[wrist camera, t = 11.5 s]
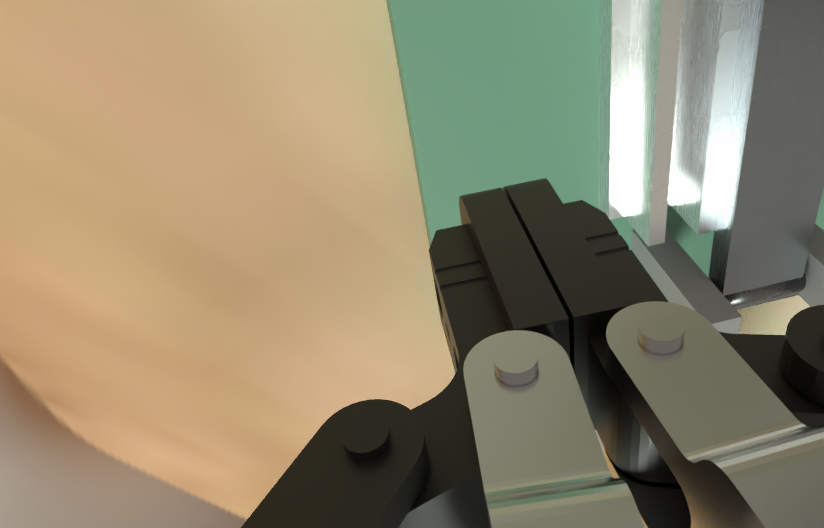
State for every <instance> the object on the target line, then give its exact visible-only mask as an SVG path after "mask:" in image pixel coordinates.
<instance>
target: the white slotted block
mask: <svg viewBox="0 0 824 528" xmlns="http://www.w3.org/2000/svg"><path fill="white" fill-rule="evenodd" d="M742 8H743V0H599V171H598V207H599V208H600V209H601V211H602V212H604V213H605V214H606V215H607V216H608V218H609V219H610V220H611V219H616V218H620V217H625V218H626V219H627V221H628V222H629V223H630V224H631V226H632V227H633V228H634V229H635V231H636V232H637V233H638V234H639V236H640V237H641V238H642V239H643V241H644V242H645V243H646V244H647V246H652V245H656V244H661V243H665V231H666V218H667V207H668V206H672V207H673V209H674V210H675V211H676V212H677V213H678V214H679V215H680V216H681V217H682V218H683V219H684V220H685V222H686V223H687V224H688V225H689V226H690V227H691V228H692V229H693V230H694V231H695V232H696V234H697V235H699V234H704V233H708V232H712V231H714V229H715V221H716V214H717V206H718V198H719V190H720V182H721V174H722V166H723V158H724V150H725V142H726V135H727V127H728V119H729V111H730V103H731V95H732V87H733V79H734V71H735V63H736V56H737V48H738V40H739V32H740V24H741V16H742Z"/></svg>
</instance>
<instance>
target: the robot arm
mask: <svg viewBox="0 0 824 528" xmlns="http://www.w3.org/2000/svg"><path fill="white" fill-rule="evenodd" d="M459 208H460V216H461V223H462V225H459V226H455V227H450V228H445V229H440V230H436V232H435V235H434V238H433V240H432V243H431V246H430V249H429V253H430V259H431V265H432V271H433V277H434V283H435V289H436V295H437V300H438V306H439V312H440V318H441V322H442V325H443V329H444V333H445V336H446V339H447V344H448V347H449V351H450V354H451V357H452V362H453V365H454V369H455V373H456V374H455V376H454V378H453V379H452V381H451V382H450V383H449V385H448V386H447V387H446V388H445V389H444V390H443V391H442V392H441V393H439V394H438V395H437V396H436V397H434V398H432V399H431V400H429V401H427V402H425V403H423V404H422V405H420V406H418V407H416V408H414V409H412V410H410V409H409V408H407V407H406V406H404V405H402V404H399V403H397V402H393V401H389V400H381V399H375V400H366V401H360V402H357V403H354V404H351V405H349V406H347V407H344V408H343V409H341V410H339V411H338V412H336V413H335V414H333V415H332V416H331V417H330V418H329V419H328V420H327V421H326V422H325V423H324V424H323V425H322V426H321V427H320V429H319V430H318V431H317V433H316V434H315V435H314V436H313V438H312V439H311V440H310V441H309V443H308V444H307V445H306V446H305V448H304V449H303V450H302V451H301V453H300V454H299V455H298V456H297V458H296V459H295V460H294V461H293V463H292V464H291V465H290V467H289V468H288V469H287V470H286V472H285V473H284V474H283V475H282V477H281V478H280V479H279V480H278V482H277V483H276V484H275V485H274V487H273V488H272V489H271V490H270V492H269V493H268V494H267V496H266V497H265V498H264V499H263V501H262V502H261V503H260V504H259V506H258V507H257V508H256V509H255V511H254V512H253V513H252V514H251V516H250V517H249V518H248V519H247V521H246V522H245V523H244V525H243V526H242V527H241V528H824V305H817V306H813V307H809V308H807V309H804V310H802V311H800V312H799V313H797V314H796V315H794V317H793V318H792V319H791V320H790V322H789V324H788V326H787V330H786V335H752V334H731V333H724V332H718V331H717V330H716V328H715V327H714V326H713V325H712V324H711V323H710V322H709V321H708V320H707V319H706V318H705V317H704V316H702V315H701V314H699V313H698V312H696V311H694V310H692V309H690V308H688V307H685V306H682V305H679V304H675V303H670V302H668V300H667V299H666V297H665V296H664V295H663V293H662V292H661V290H660V289H659V288H658V286H657V285H656V283H655V282H654V281H653V279H652V278H651V276H650V275H649V274H648V272H647V271H646V269H645V268H644V267H643V265H642V264H641V262H640V261H639V260H638V258H637V257H636V255H635V254H634V253H633V251H632V250H629V246H628V244H627V243H626V241H625V240H624V239H623V237H622V236H621V235H619V234H618V230H617V229H616V227H615V226H614V225H613V223H612V222H611V221H610V219H609V218H608V216H607V215H606V214H605V213H604V212H602V211H601V210H599V209H597V208H595V207H594V206H592V205H590V204H588V203H587V202H585V201H583V200H579V201H574V202H569V203H564V204H563V203H562V201H561V200H560V198H559V196H558V195H557V193H556V192H555V190H554V189H553V187H552V185H551V184H550V182H549V181H548V180H547V179H546V178H543V179H538V180H533V181H528V182H524V183H519V184H514V185H509V186H504V187H503V189H502V188H501V187H500V188H495V189H491V190H486V191H481V192H476V193H471V194H466V195H462V196H459ZM595 430H597V432H598V435H599V437H600V439H601V441H602V443H603V445H604V454H603V451H602V448H601V446H600V443H599V440H598V437H597V435H596V432H595Z"/></svg>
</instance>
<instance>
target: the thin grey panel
mask: <svg viewBox="0 0 824 528" xmlns="http://www.w3.org/2000/svg"><path fill="white" fill-rule="evenodd" d="M823 188H824V0H743V8H742V16H741V24H740V32H739V40H738V48H737V56H736V63H735V71H734V79H733V87H732V95H731V103H730V111H729V119H728V127H727V135H726V142H725V150H724V158H723V166H722V174H721V182H720V190H719V198H718V206H717V214H716V221H715V229H714V237H713V245H712V253H711V261H710V269H709V277H708V278H709V279H710V280H711V282H712V283H713V284H714V285H715V286H716V287H717V288H718V290H719V291H720V292H721V293H722V294H723V295H724V297H725V298H726V299H727V300H728V301H729V302H730V304H731V305H732V306H733V307H734V308H735V309H736V310H737V309H741V308H745V307H750V306H754V305H758V304H762V303H766V302H771V301H775V300H779V299H783V298H788V297H792V296H796V295H799V292H800V291H802V290H804V288H805V286H806V276H805V273H804V270H805V266H806V261H807V257H808V253H809V248H810V244H811V240H812V235H813V231H814V227H815V222H816V218H817V214H818V209H819V205H820V201H821V196H822V192H823Z"/></svg>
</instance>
